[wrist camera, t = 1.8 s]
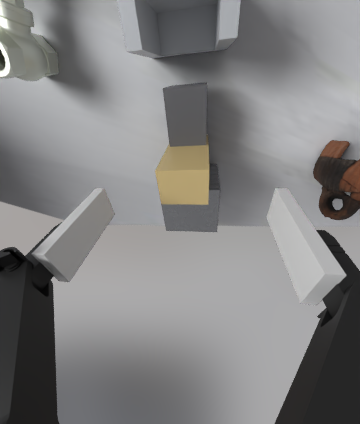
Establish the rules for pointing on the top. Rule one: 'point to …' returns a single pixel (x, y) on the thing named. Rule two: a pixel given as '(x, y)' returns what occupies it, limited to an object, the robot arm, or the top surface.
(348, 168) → the rusty metal ring bracket
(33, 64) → the valve
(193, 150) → the two-tone stepped block
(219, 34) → the socket
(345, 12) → the top surface
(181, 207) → the gray block
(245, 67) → the top surface
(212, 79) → the top surface
